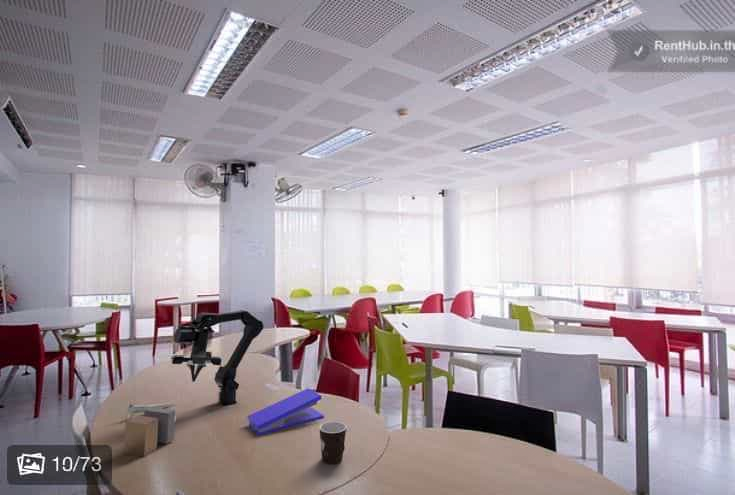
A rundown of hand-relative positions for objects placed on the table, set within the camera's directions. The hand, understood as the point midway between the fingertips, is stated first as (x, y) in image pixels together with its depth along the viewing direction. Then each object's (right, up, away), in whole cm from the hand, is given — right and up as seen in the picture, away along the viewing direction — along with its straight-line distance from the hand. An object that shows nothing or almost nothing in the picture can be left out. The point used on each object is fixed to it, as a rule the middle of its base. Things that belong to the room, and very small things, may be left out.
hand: (193, 381), depth 156 cm
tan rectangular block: (0, -11, -28) cm, 30 cm away
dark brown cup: (+61, -12, -38) cm, 73 cm away
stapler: (+41, -13, -8) cm, 43 cm away
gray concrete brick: (0, -11, -27) cm, 29 cm away
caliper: (-16, -13, -1) cm, 21 cm away
